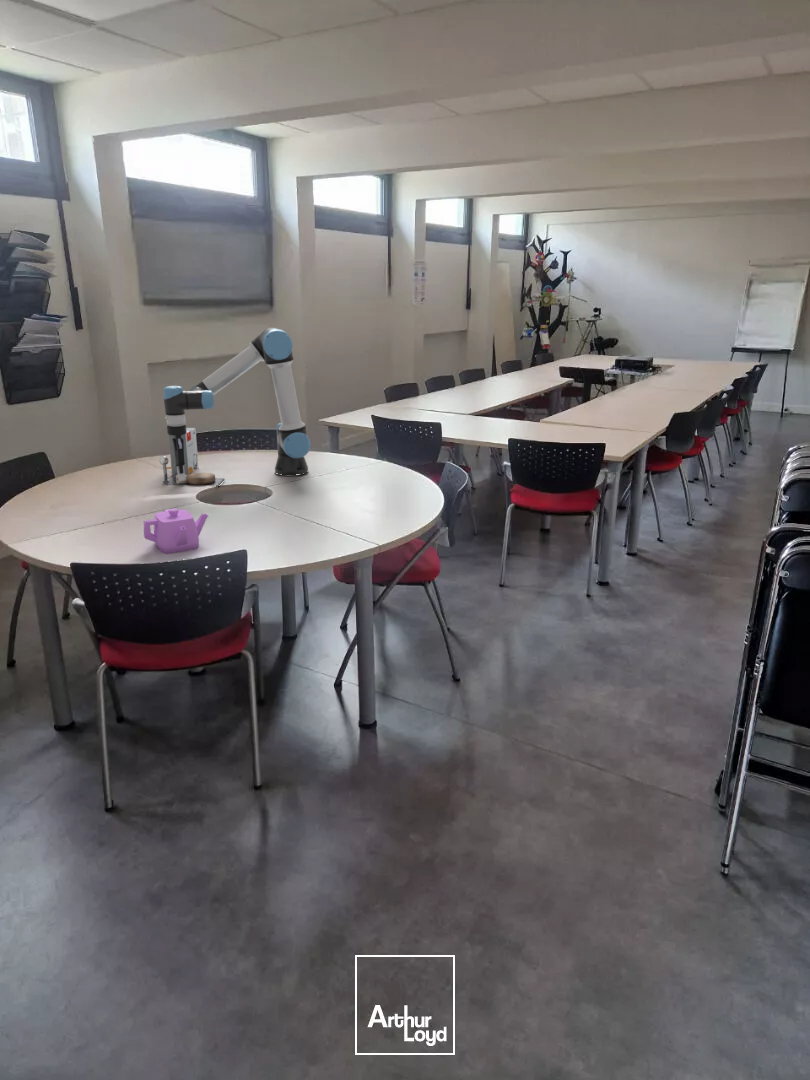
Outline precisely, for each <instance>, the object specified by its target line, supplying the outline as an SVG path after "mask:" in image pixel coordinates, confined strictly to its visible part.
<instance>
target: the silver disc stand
mask: <svg viewBox="0 0 810 1080" xmlns="http://www.w3.org/2000/svg"><path fill="white" fill-rule="evenodd" d="M159 463H160V465H162V469H163V470H162V471H163V479H162V482H163V483H166V482H169V478H168V469H170V470H171V469H173V467H171V466H167V465H168V464H169V458H168V457H167V456H160V458H159ZM163 483H162V484H163Z"/></svg>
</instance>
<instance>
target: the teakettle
mask: <svg viewBox="0 0 810 1080" xmlns="http://www.w3.org/2000/svg"><path fill="white" fill-rule="evenodd" d="M208 517H209V514H207V513H201V514H200V516H199V517H198V518H197V520H196V521H195V519H194V516H193V515H192V514H191V512H189V511H188V510H186V509H185V508H183V509H179V508H178V509H177V508H170V509H164V510H163V511H161V512H156V513H155V514H154V518H153V519H147V520H143V537H144V539H145V540H147V541H150V542H154V543H155V544H156V545H155V546H156V547H157V548H158V549H159V551H161V552H162V553H164V554H167V555H168V554H174V553H181V552H186V551H191V550H197V549H199V545H200V539H199V536H200V534H201V532H202V530H203V527H204V526H205V524H206V522H207V519H208ZM151 526H153V532H152V530H151V529H152V528H151Z"/></svg>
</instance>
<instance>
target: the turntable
mask: <svg viewBox="0 0 810 1080" xmlns="http://www.w3.org/2000/svg"><path fill="white" fill-rule="evenodd" d="M175 477H176V482H177V484H178V483H189V484H208V483H212V482H214V481H215V478H216V475H215V474H214V473H211V472H196V473H195V472H193V473H191V474H190V475H185V481H178V475H175Z"/></svg>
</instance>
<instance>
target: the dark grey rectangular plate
mask: <svg viewBox="0 0 810 1080" xmlns="http://www.w3.org/2000/svg"><path fill="white" fill-rule="evenodd" d="M168 479H169V482H166V483H162V484H161V485H162V486H168V485H169V486H172V485H173V486H216V489H217V488H218V486H219V485H220V484H221V483H222V482H223V481H224V480H225V477H215V481H214V482H212V483H208V484H189V483H178V484H177V482H176V476H174V477H172V476H170V477H169V478H168ZM218 489H219V488H218Z"/></svg>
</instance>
